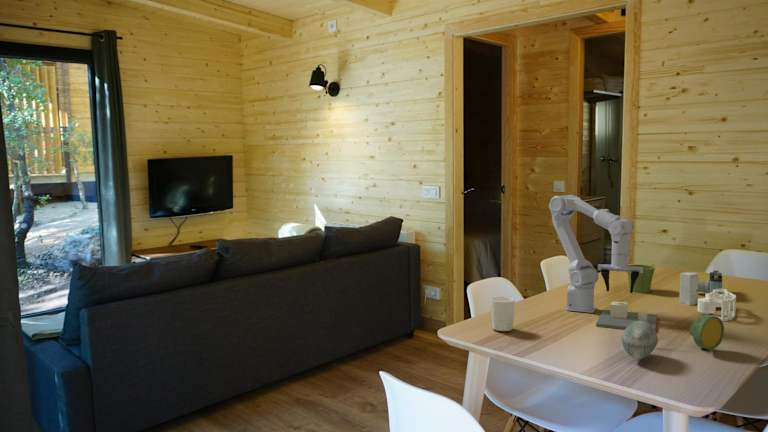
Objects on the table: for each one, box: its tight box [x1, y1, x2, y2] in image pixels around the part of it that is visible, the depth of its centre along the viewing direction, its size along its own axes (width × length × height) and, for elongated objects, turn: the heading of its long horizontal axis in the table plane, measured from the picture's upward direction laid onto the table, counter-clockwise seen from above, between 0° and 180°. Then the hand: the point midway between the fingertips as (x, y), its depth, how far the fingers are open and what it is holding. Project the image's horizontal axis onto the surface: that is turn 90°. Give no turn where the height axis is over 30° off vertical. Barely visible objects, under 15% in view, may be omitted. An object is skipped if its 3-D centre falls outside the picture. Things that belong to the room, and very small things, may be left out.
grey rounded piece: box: [621, 321, 659, 360], centre depth 166 cm, size 14×10×10 cm
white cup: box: [490, 296, 516, 332], centre depth 194 cm, size 8×8×10 cm
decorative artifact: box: [689, 313, 725, 351], centre depth 173 cm, size 10×7×10 cm
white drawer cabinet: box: [609, 300, 629, 319], centre depth 204 cm, size 5×5×5 cm
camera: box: [698, 269, 723, 294], centre depth 234 cm, size 16×10×10 cm, turn 151°
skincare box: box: [678, 271, 699, 307], centre depth 222 cm, size 6×4×12 cm
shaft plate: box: [595, 309, 658, 331], centre depth 200 cm, size 18×20×4 cm
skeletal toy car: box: [697, 288, 737, 322], centre depth 208 cm, size 20×11×7 cm, turn 139°
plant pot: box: [626, 264, 657, 294], centre depth 241 cm, size 12×12×11 cm
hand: (619, 291), depth 203 cm, fingers open, 7 cm apart
